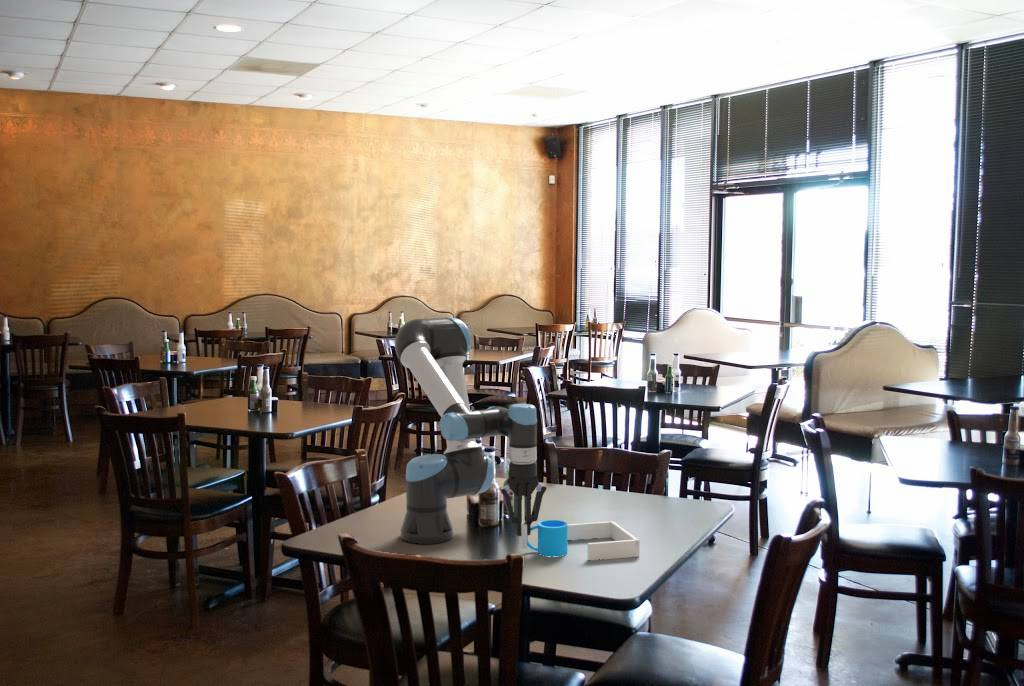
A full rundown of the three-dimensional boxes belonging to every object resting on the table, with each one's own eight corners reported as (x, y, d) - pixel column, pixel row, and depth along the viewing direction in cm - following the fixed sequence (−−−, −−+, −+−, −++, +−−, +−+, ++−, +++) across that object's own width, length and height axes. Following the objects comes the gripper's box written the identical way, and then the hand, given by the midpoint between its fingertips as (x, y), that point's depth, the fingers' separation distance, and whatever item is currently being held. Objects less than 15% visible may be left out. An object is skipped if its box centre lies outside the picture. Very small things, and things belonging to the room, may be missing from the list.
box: (588, 560, 256) (588, 544, 256) (565, 539, 275) (565, 524, 275) (639, 556, 260) (639, 540, 259) (613, 536, 279) (613, 521, 279)
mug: (568, 549, 266) (568, 520, 266) (566, 558, 258) (566, 528, 258) (525, 547, 268) (525, 518, 268) (521, 556, 260) (521, 526, 260)
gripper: (502, 465, 254) (503, 552, 256) (550, 463, 257) (550, 549, 259) (496, 460, 261) (496, 545, 263) (542, 457, 265) (542, 541, 266)
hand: (523, 547), depth 261 cm, fingers closed
